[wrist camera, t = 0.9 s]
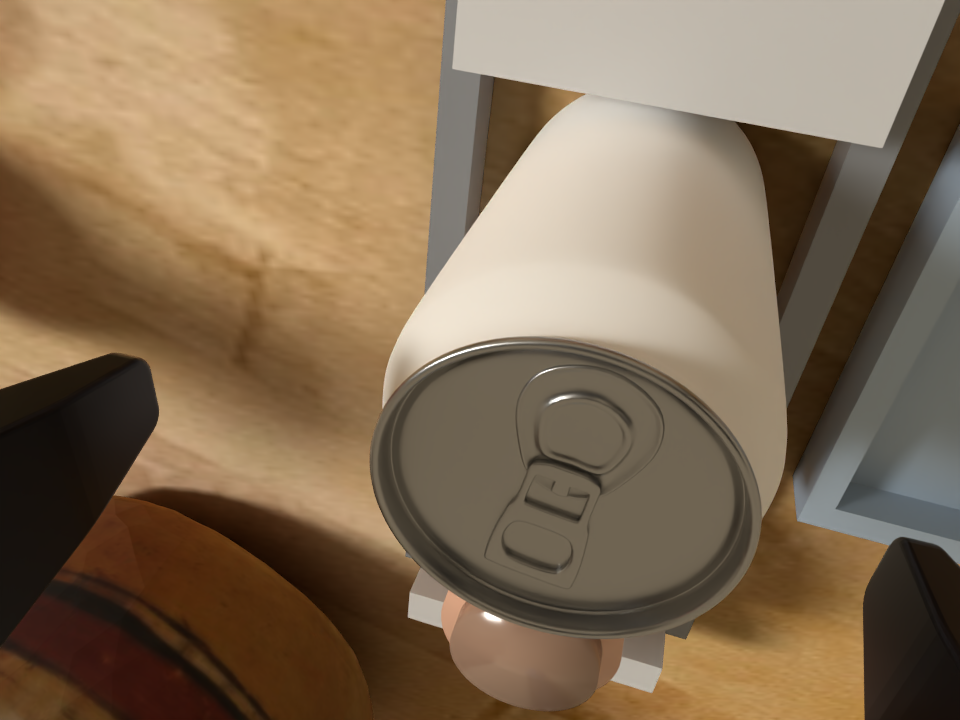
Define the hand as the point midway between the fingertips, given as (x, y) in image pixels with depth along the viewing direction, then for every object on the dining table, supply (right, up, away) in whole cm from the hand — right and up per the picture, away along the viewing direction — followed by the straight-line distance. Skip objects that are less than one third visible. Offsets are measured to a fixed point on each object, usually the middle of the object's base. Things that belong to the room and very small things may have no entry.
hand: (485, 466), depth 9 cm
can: (+4, +6, +12) cm, 14 cm away
